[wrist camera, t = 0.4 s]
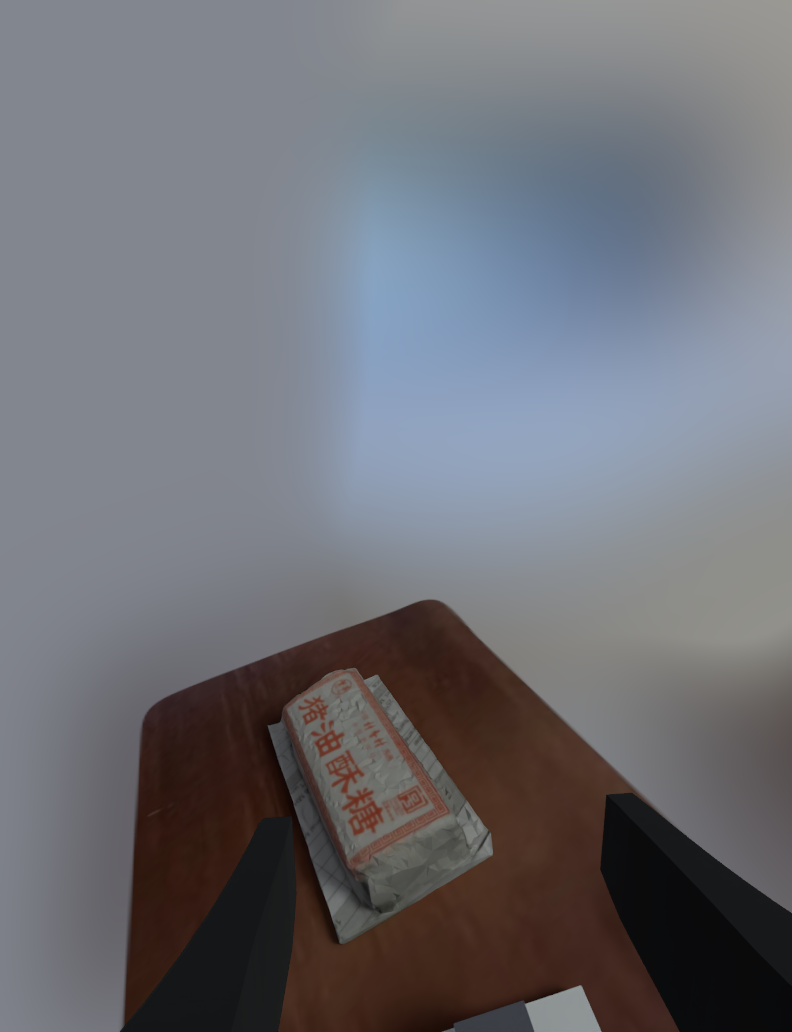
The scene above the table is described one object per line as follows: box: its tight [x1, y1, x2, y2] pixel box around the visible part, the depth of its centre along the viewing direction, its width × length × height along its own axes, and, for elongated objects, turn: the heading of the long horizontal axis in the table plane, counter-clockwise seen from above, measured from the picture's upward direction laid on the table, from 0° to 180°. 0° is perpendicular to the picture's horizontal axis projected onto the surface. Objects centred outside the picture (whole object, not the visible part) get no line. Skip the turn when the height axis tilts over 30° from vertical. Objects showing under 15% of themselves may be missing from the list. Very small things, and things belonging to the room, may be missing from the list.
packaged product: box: [268, 668, 493, 944], centre depth 37 cm, size 18×5×10 cm
